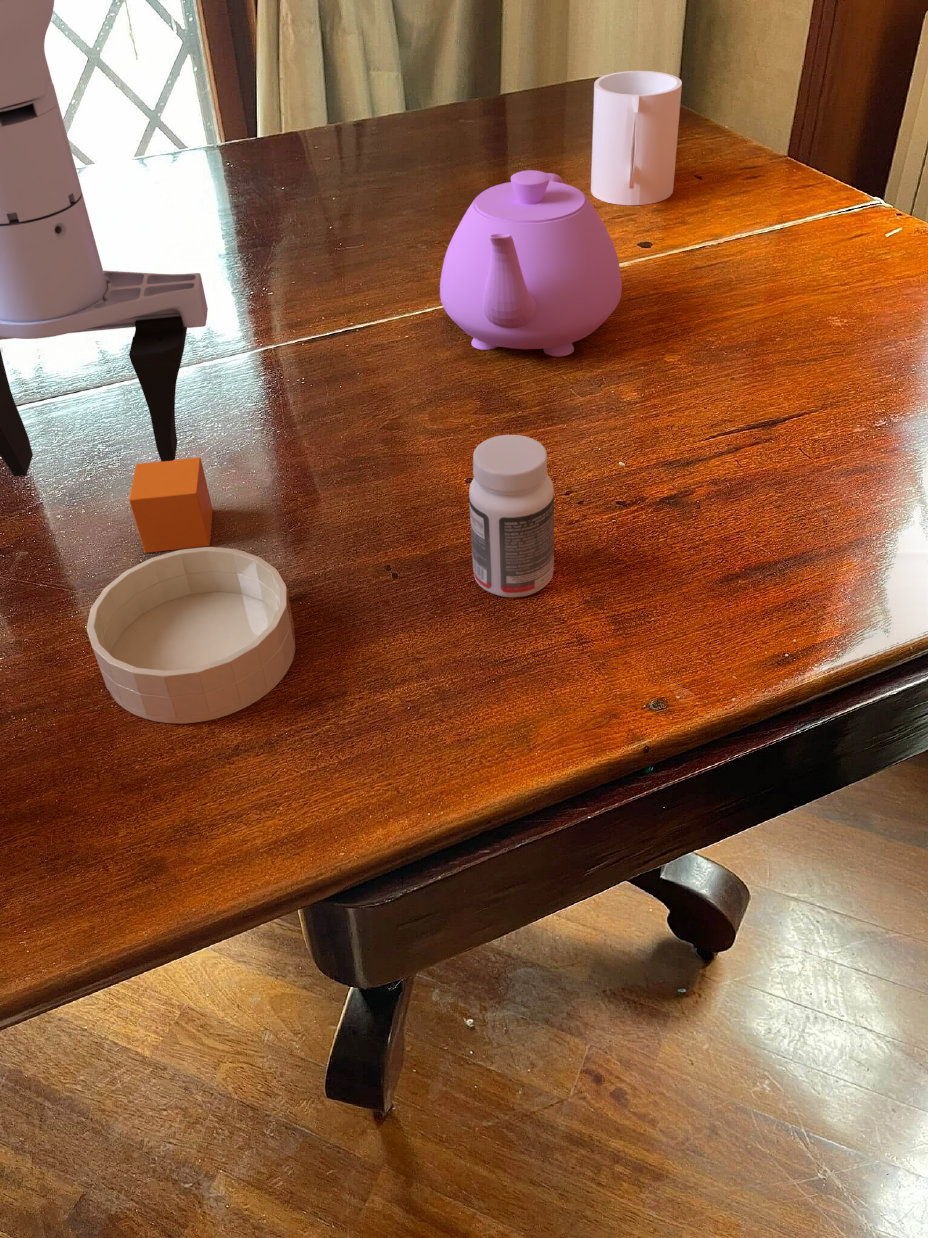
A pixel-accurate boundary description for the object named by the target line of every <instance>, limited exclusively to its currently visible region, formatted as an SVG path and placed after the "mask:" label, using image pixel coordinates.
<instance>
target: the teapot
mask: <svg viewBox="0 0 928 1238" xmlns="http://www.w3.org/2000/svg"><path fill="white" fill-rule="evenodd" d="M439 280H440V281H439V300H440V302H441V305H442V307H443V310H444V312H445V313H446V314H447V316H449V318H450V319H451V320H452V321H453V322H454V324H456V325H457V326H458V327H459V328H460V329H461V330H462V331H464V332H465V333H466V334H467V335H468V336H470V337H471V338H472V340H471V342H470V345H471V346H472V347H474V348H475V349H477V350H482V351H487V350H493V349H496V348H498V347H500V348H507V349H513V350H514V349H515V350H539V349H542V351H543V352H544V353H545V354H546V355H548V356H551V357H565V356H569V355H570V354H572V353H573V352H574V351H575V347H574V345H573V343H575V342H577V341H578V342H579V341H580V340H582V339H585V338H586V337H588V336H590V335H591V334H592V333H594V332H595V331H596V330H597V329H598V328H599V327H600V326H602V325H603V324H604V323H605V322H606V321H607V320H608V318H609V317H610V316H611V314H613V313H614V311H616V308H617V306H618V305H619V303H620V300H621V297H622V287H623V285H622V273H621V267H620V262H619V255H618V254H617V251H616V248H615V245H614V242H613V239H612V237H611V235H610V233H609V231H608V229H607V227H606V225H605V224H604V221H603V220H602V218H601V216H600V215H599V213H598V212H597V210H596V208H595V206H594V205H593V204H592V202H591V201H590V200H589V198H588V197H587V196H586V194H585V193H584V192H582V191H581V190H580V189H579V188H577V187H574V186H572V185H569V184H568V183H564V181H563V179H562V177H561V176H560V175H558V174H556V173H552V172H544V171H541V170H535V169H534V170H533V169H527V170H521V171H518V172H516V173H513V174H512V175H511V176H510V181H509V182H504V183H500V184H496V185H494V186H491V187H489V188H487V189H485V190H483V191H482V192H481V193H479V194H478V195H477V196H476V197H475V198H474V199H473V201H472V202H471V203H470V205H469V207H468V208H467V210H466V211H465V213H464V215H463V216H462V218H461V221H459V224H458V226H457V228H456V229H455V231H454V233H453V236H452V237H451V239H450V242H449V244H448V246H447V249H446V252H445V255H444V258H443V263H442V269H441V273H440V279H439Z"/></svg>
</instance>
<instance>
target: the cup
mask: <svg viewBox="0 0 928 1238" xmlns="http://www.w3.org/2000/svg"><path fill="white" fill-rule="evenodd" d="M593 84H594V85H593V115H592V143H591V169H590V170H591V171H590V173H591V174H590V193H591V195H592V196H593V197H594V198H596V199H597V200H599V201H601V202H604V203H609V204H613V205H618V206H644V205H652V204H656V203H659V202H663V201H665V200H667V199H668V198H670V197H671V196H672V194H673V193H674V185H675V184H674V183H675V171H676V162H677V161H676V159H677V148H678V147H677V146H678V137H679V136H678V135H679V126H680V125H679V123H680V112H681V102H682V101H681V99H682V86H683V82H682V79H680V78H679V77H678V76H675V75H673V74H670V73H666V72H660V71H653V70H626V71H618V72H612V73H609V74H605V75H602V76H600V77H599V78H597V79H596V80H595V81H594V83H593Z"/></svg>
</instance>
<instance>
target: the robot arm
mask: <svg viewBox="0 0 928 1238" xmlns="http://www.w3.org/2000/svg"><path fill="white" fill-rule="evenodd" d="M54 7H55V0H0V341H1V340H11V339H12V340H13V339H20V340H36V339H47V338H51V337H53V338H54V337H58V336H63V335H67V334H77V333H86V332H87V333H88V332H97V331H108V330H109V331H110V330H119V329H130V328H135V331H134V335H133V336H132V340H131V344H130V349H129V353H128V356H129V361H130V363H131V365H132V367H133V370H134V372H135V374H136V377H137V380H138V383H139V385H140V387H141V390H142V393H143V396H144V399H145V402H146V405H147V408H148V411H149V416H150V420H151V426H152V432H153V437H154V443H155V447H156V451H157V453H158V456H159V459H160V461H161V462H164V461H173V460H176V456H177V455H176V454H177V449H178V447H177V446H178V437H177V428H176V392H177V391H176V390H177V381H178V376H179V373H180V368H181V365H182V361H183V356H184V351H185V345H186V338H187V332H188V329H193V328H203V327H205V326H206V325H207V319H208V308H209V307H208V304H207V303H208V302H207V299H206V294H205V288H204V285H203V280H202V275H201V273H200V272H192V273H173V274H172V273H152V272H134V271H133V272H132V271H118V270H104V269H103V264H102V262H101V258H100V253H99V250H98V247H97V243H96V239H95V235H94V232H93V227H92V224H91V220H90V216H89V212H88V208H87V204H86V201H85V197H84V194H83V191H82V186H81V183H80V182H81V181H80V179H79V174H78V171H77V168H76V163H75V160H74V156H73V153H72V149H71V145H70V140H69V137H68V134H67V130H66V126H65V122H64V118H63V114H62V111H61V108H60V105H59V104H60V103H59V99H58V96H57V93H56V88H55V85H54V82H53V79H52V76H51V72H50V71H51V70H50V68H49V65H48V60H47V57H46V56H47V55H46V52H45V40H46V35H47V32H48V29H49V26H50V24H51V22H52V21H51V20H52V17H53V14H54ZM33 456H34V454H33V450H32V445H31V441H30V438H29V435H28V432H27V430H26V426H25V425H24V422H23V419H22V416H21V415H20V412H19V409H18V407H17V404H16V401H15V399H14V397H13V393H12V390H11V386H10V383H9V379H8V376H7V371H6V367H5V364H4V359H3V355H2V351H1V349H0V458H1V460H2V461H3V462H4V464H5V466H6V467H7V469H8V470H9V472H10V473H11V475H12V476H13V477H14V478H16V477H26V476H27V474H28V472H29V469H30V465H31V462H32V460H33Z"/></svg>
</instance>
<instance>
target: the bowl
mask: <svg viewBox="0 0 928 1238" xmlns="http://www.w3.org/2000/svg"><path fill="white" fill-rule="evenodd" d="M289 598H290V597H289V592H288V588H287V585H286V583H285V582H284V579H283V578H282V576H281V574H280V572H279V570H278V569H277V568H276V567H274V566H273V565H271V564H270V563H269V562H267V561H266V560H265V559H263V558H262V557H260V556H258V555H255V554H252V553H249V552H246V551H243V550H240V549H236V548H229V547H216V546H204V547H195V548H186V549H177V550H173V551H171V552H170V551H169V552H168V553H164V554H161V555H157V556H154V557H151V558H149V559H146V560H145V561H143V562H141V563H138V564H136V565H134V566H133V567H131V568H129V569H127V570H125V571H123V572H122V573H121V574H120V575H118V576H117V577H116V578H115V579H114V580H112V581H111V582H110V583H109V584H108V585H107V586H105V587H104V588H103V589H102V590H101V592H100V593H99V595H98V596H97V598H96V600H95V601H94V603H93V604H92V605H91V607H90V609H89V614H88V619H87V625H86V633H87V635H88V638H89V642H90V645H91V648H92V651H93V654H94V657H95V660H96V662H97V664H98V667H99V670H100V673H101V675H102V679H103V682H104V684H105V687H106V689H107V691H108V692H109V694H110V696H111V698H112V699H114V701H115V702H116V703H117V704H118V705H119V706H121V708H123V709H124V710H125V711H127V712H129V713H130V714H132V715H134V716H137V717H139V718H142V719H144V720H148V721H153V722H156V723H163V724H181V725H183V724H195V723H202V722H203V723H204V722H209V721H212V720H213V721H214V720H216V719H219V718H220V719H221V718H224V717H226V716H229V715H232V714H235V713H237V712H239V711H242V710H243V709H246V708H247V707H250V706H251V705H253V704H254V703H256V702H258V701H259V700H261V699H262V698H264V697H265V696H266V695H268V694H269V693H270V692H271V691H272V690H273V689H274V688H275V687H277V685H279V683H280V682H281V681H282V680H283V679H284V677H285V676H286V674H287V673H288V672H289V669H290V667H291V665H292V663H293V661H294V657H295V653H296V644H297V642H296V633H295V624H294V618H293V614H292V609H291V602H290V599H289Z"/></svg>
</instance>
